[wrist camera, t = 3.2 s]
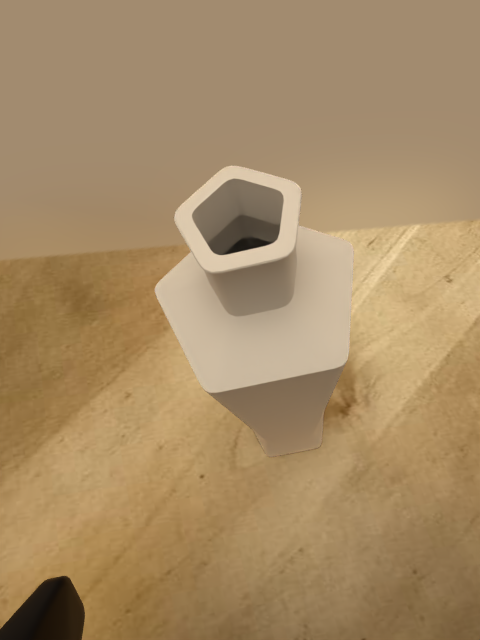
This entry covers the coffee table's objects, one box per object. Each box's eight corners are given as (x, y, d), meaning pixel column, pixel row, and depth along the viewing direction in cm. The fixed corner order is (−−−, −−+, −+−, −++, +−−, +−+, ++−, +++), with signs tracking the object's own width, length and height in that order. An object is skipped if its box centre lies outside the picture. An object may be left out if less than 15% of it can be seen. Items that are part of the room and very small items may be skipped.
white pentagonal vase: (243, 364, 22) (136, 116, 9) (333, 373, 21) (370, 111, 8) (229, 459, 20) (64, 333, 7) (326, 472, 19) (360, 358, 6)
